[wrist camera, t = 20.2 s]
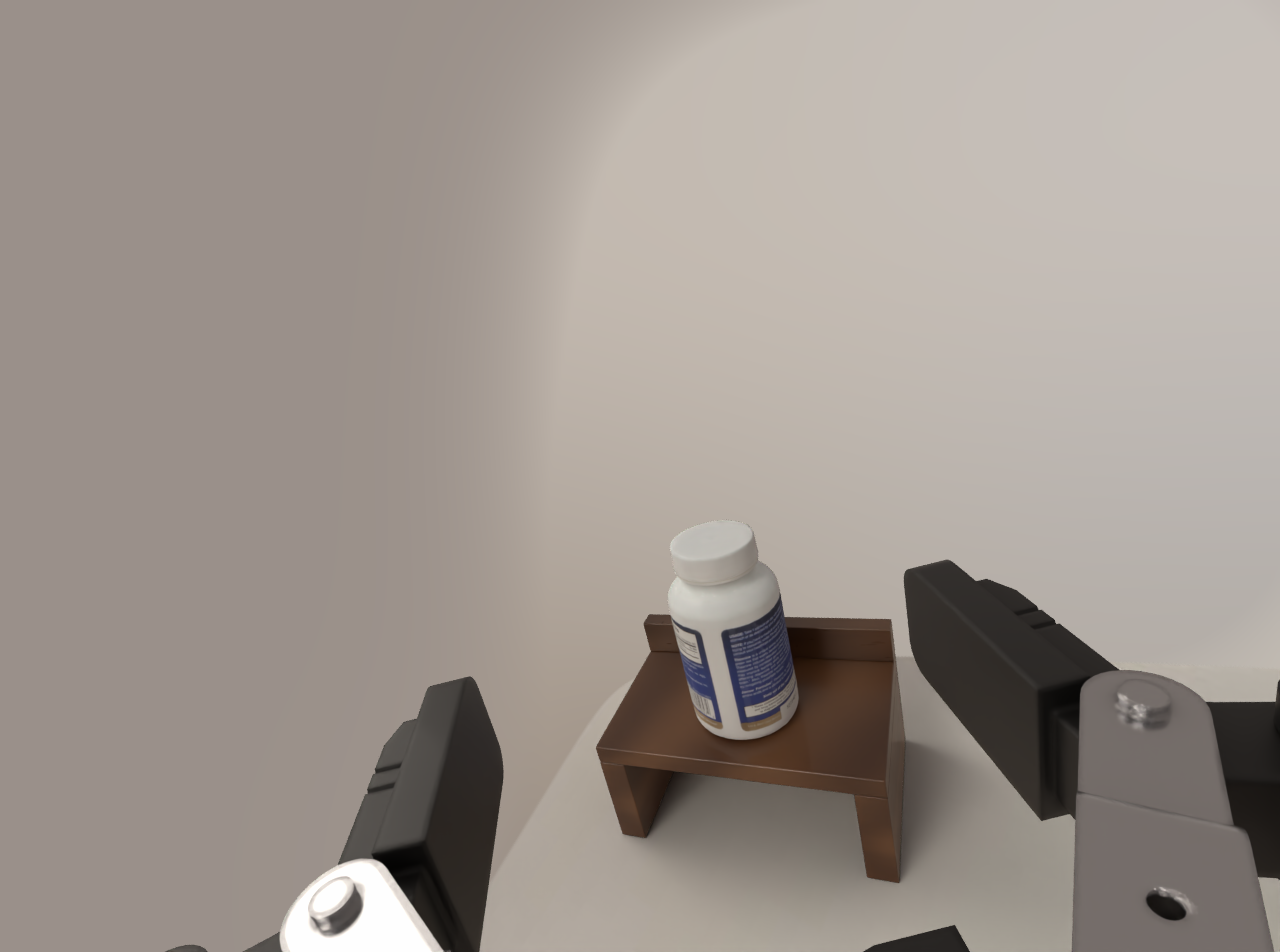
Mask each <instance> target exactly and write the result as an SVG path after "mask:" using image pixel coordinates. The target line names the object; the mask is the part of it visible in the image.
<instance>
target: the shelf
mask: <svg viewBox="0 0 1280 952" xmlns="http://www.w3.org/2000/svg"><path fill="white" fill-rule="evenodd" d="M785 623H786V628H787V634H788V639H789V644H790V650H791V655H792V660H793V666H794V672H795V676H796V681H797V688H798V697H799V699H798V705H797V708H796V711H795V713H794V714H793V716H792V718H791V719H790V720H789V721H788V723H787V724H786V725H784V726H783V727H781V728H780V729H779V730H777V731H776V732H774V733H772V734H769V735H767V736H764V737H760V738H756V739H748V740H735V739H728V738H724V737H720V736H718V735H715V734H713V733H712V732H710V731H709V730H708V729H706V728H705V727H704V726H703V725H702V724H701V722H700V721H699V719H698V718H697V715H696V712H695V709H694V705H693V702H692V699H691V694H690V691H689V686H688V683H687V679H686V675H685V671H684V667H683V663H682V659H681V655H680V651H679V647H678V643H677V639H676V635H675V631H674V627H673V623H672V619H671V615H653V614H650V615H648V617H647V619H646V620H645V622H644V628H645V631H646V635H647V639H648V642H649V647H650V650H651V652H650V654H649V656H648V657H647V659H646V661H645V663H644V664H643V666H642V668H641V670H640V671H639V673H638V675H637V676H636V678H635V680H634V682H633V683H632V685H631V687H630V689H629V690H628V692H627V694H626V696H625V697H624V699H623V701H622V703H621V704H620V706H619V708H618V710H617V711H616V713H615V715H614V717H613V718H612V720H611V722H610V723H609V725H608V727H607V729H606V730H605V732H604V734H603V736H602V737H601V739H600V741H599V743H598V744H597V746H596V750H597V753H598V756H599V759H600V761H601V766H602V770H603V773H604V776H605V779H606V782H607V785H608V789H609V792H610V795H611V798H612V801H613V805H614V808H615V811H616V814H617V817H618V820H619V824H620V827H621V830H622V833H623V834H626V835H631V836H637V837H643V838H646V836H647V834H648V831H649V829H650V826H651V824H652V822H653V819H654V817H655V815H656V812H657V810H658V808H659V805H660V803H661V800H662V798H663V796H664V793H665V791H666V789H667V786H668V784H669V782H670V779H671V777H672V774H673V772H674V771H676V772H684V773H692V774H700V775H708V776H715V777H723V778H731V779H739V780H747V781H755V782H762V783H770V784H778V785H786V786H794V787H802V788H809V789H817V790H825V791H833V792H841V793H848V794H854V797H855V803H856V810H857V816H858V822H859V829H860V835H861V842H862V848H863V854H864V861H865V867H866V873H867V877H868V878H873V879H879V880H885V881H890V882H896V883H899V880H900V856H901V832H902V809H903V785H904V762H905V731H904V723H903V714H902V706H901V697H900V689H899V681H898V672H897V665H896V656H895V648H894V639H893V632H892V622H891V619H849V618H800V617H785Z"/></svg>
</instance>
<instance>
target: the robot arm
mask: <svg viewBox="0 0 1280 952" xmlns="http://www.w3.org/2000/svg"><path fill="white" fill-rule="evenodd" d="M904 588H905V598H906V607H907V617H908V627H909V636H910V644H911V649H912V652H913V655H914V658H915V661H916V663H917V665H918V667H919V669H920V671H921V673H922V674H923V676H924V677H925V678H926V680H927V681H928V682H929V683H930V685H931V686H932V687H933V688H934V689H935V691H936V692H937V693H938V694H939V696H940V697H941V698H942V699H943V701H944V702H945V703H946V704H947V705H948V707H949V708H950V709H951V710H952V712H953V713H954V714H955V715H956V717H957V718H958V719H959V720H960V721H961V723H962V724H963V725H964V726H965V728H966V729H967V730H968V731H969V733H970V734H971V735H972V736H973V737H974V739H975V740H976V741H977V742H978V744H979V745H980V746H981V747H982V748H983V750H984V751H985V752H986V753H987V755H988V756H989V757H990V758H991V760H992V761H993V762H994V763H995V764H996V766H997V767H998V768H999V769H1000V771H1001V772H1002V773H1003V774H1004V776H1005V777H1006V778H1007V779H1008V780H1009V782H1010V783H1011V784H1012V785H1013V787H1014V788H1015V789H1016V790H1017V792H1018V793H1019V794H1020V795H1021V796H1022V798H1023V799H1024V800H1025V801H1026V803H1027V804H1028V805H1029V806H1030V808H1031V809H1032V810H1033V811H1034V812H1035V814H1036V815H1037V816H1038V817H1039V819H1040V820H1041V821H1043V820H1047V819H1051V818H1055V817H1059V816H1063V815H1067V814H1071V816H1072V817H1073V818H1074V819H1075V820H1076V825H1075V860H1074V895H1073V931H1072V952H1274V949H1273V944H1272V940H1271V935H1270V931H1269V926H1268V921H1267V917H1266V912H1265V907H1264V903H1263V898H1262V894H1261V889H1260V884H1259V880H1258V877H1267V878H1278V879H1279V880H1280V680H1279V682H1278V687H1277V696H1276V702H1205V701H1204V700H1203V699H1202V698H1201V697H1200V696H1199V695H1198V694H1196V693H1195V692H1194V691H1193V690H1191V689H1190V688H1188V687H1186V686H1184V685H1183V684H1181V683H1178V682H1176V681H1174V680H1172V679H1169V678H1166V677H1163V676H1160V675H1156V674H1153V673H1148V672H1142V671H1132V670H1119V669H1117V668H1116V667H1115V666H1113V665H1112V664H1111V663H1110V662H1108V661H1107V660H1105V659H1104V658H1103V657H1102V656H1101V655H1099V654H1098V653H1097V652H1095V651H1094V650H1093V649H1091V648H1090V647H1089V646H1088V645H1086V644H1085V643H1084V642H1082V641H1081V640H1080V639H1079V638H1077V637H1076V636H1075V635H1073V634H1072V633H1071V632H1069V631H1068V630H1067V629H1066V628H1064V627H1063V626H1062V625H1060V624H1056V623H1055V620H1054V619H1053V618H1051V617H1050V616H1049V615H1048V614H1046V613H1045V612H1044V611H1042V610H1038V608H1037V606H1036V605H1035V604H1033V603H1032V602H1031V601H1030V600H1028V599H1026V597H1024V596H1023V595H1022V594H1020V593H1019V592H1018V591H1017V590H1014V589H1012V588H1009V587H1007V586H1004V585H1001V584H998V583H996V582H994V581H991V580H988V579H984V580H981V581H975V580H974V579H973V578H971V577H970V576H969V575H968V574H967V573H965V572H964V571H963V570H962V569H961V568H959V567H958V566H957V565H955V563H953V562H952V561H950V560H944V561H939V562H936V563H931V564H927V565H923V566H919V567H916V568H912V569H908V570H906V571H905V574H904ZM375 772H376V773H375V774H373V776H372V778H371V781H370V783H369V786H368V789H367V790H368V794H366V795H365V796H364V799H363V801H362V804H361V807H360V809H359V812H358V814H357V817H356V819H355V822H354V825H353V827H352V830H351V832H350V835H349V837H348V840H347V843H346V845H345V848H344V851H343V853H342V855H341V858H340V861H339V863H338V866H336V867H334V868H332V869H331V870H329V871H327V872H326V873H324V874H323V875H321V876H320V877H319V878H317V879H316V880H315V881H314V882H312V883H311V884H310V885H309V886H308V887H307V888H306V889H305V890H304V891H303V892H302V893H301V894H300V895H299V897H298V898H297V899H296V901H295V902H294V903H293V904H292V906H291V907H290V909H289V911H288V912H287V914H286V916H285V918H284V921H283V923H282V927H281V931H280V932H279V933H277V934H275V935H273V936H272V937H270V938H268V939H266V940H264V941H263V942H260V943H259V944H257V945H255V946H253V947H251V948H249V949H247V950H245V951H243V952H479V950H480V942H481V935H482V928H483V921H484V914H485V907H486V899H487V892H488V885H489V878H490V870H491V864H492V856H493V849H494V842H495V835H496V827H497V821H498V813H499V806H500V799H501V792H502V785H503V761H502V754H501V750H500V746H499V743H498V740H497V737H496V734H495V732H494V729H493V726H492V724H491V721H490V718H489V716H488V713H487V710H486V707H485V705H484V702H483V699H482V696H481V694H480V691H479V688H478V686H477V684H476V682H475V680H474V679H473V678H472V677H465V678H462V679H457V680H453V681H449V682H445V683H441V684H437V685H433V686H430V687H429V688H428V689H427V691H426V694H425V697H424V700H423V703H422V706H421V709H420V712H419V715H418V717H417V719H414V720H410V721H406V722H403V724H402V725H401V726H400V727H399V729H398V730H397V731H396V732H395V733H394V734H393V736H392V737H391V738H390V739H389V741H388V742H387V743H386V744H385V745H384V748H383V750H382V753H381V756H380V758H379V760H378V763H377V766H376V768H375ZM166 952H207V951H206V949H204V948H203V947H201V946H196V945H185V946H180V947H176V948H173V949H171V950H168V951H166ZM864 952H970V951H969V949H968V948H967V946H966V944H965V942H964V941H963V939H962V937H961V935H960V933H959V932H958V930H957V928H956V926H955V925H953V926H949V927H945V928H941V929H937V930H933V931H929V932H925V933H921V934H917V935H913V936H909V937H905V938H901V939H897V940H893V941H890V942H886V943H882V944H878V945H874V946H872V947H870V948H869V949H867V950H865V951H864Z"/></svg>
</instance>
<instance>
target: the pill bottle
mask: <svg viewBox="0 0 1280 952" xmlns="http://www.w3.org/2000/svg"><path fill="white" fill-rule="evenodd" d="M670 552H671V557H672V563H673V569H674V572H675V573H676V576H677V578H676V579H675V580H674V582H673V583H672V585H671V587H670V589H669V593H668V605H669V611H670V615H671V619H672V623H673V627H674V631H675V635H676V639H677V643H678V647H679V651H680V655H681V659H682V663H683V667H684V671H685V675H686V679H687V683H688V686H689V691H690V694H691V699H692V702H693V705H694V709H695V712H696V715H697V718H698V719H699V721H700V722H701V724H702V725H703V726H704V727H705V728H706V729H708V730H709V731H710V732H712V733H713V734H715V735H718V736H720V737H724V738H728V739H735V740H748V739H756V738H760V737H764V736H767V735H769V734H772V733H774V732H776V731H777V730H779V729H780V728H781V727H783V726H784V725H786V724H787V723H788V721H789V720H790V719H791V718H792V716H793V714H794V713H795V711H796V708H797V705H798V699H799V697H798V688H797V681H796V676H795V672H794V666H793V660H792V655H791V650H790V644H789V639H788V634H787V628H786V623H785V617H784V612H783V606H782V601H781V594H780V589H779V585H778V581H777V578H776V576H775V574H774V573H773V571H772V570H771V569H770V568H769V567H768V566H766V565H765V564H764V563H762V562H760V561H758V549H757V546H756V541H755V537H754V533H753V530H752V529H751V527H750V526H749V525H747V524H745V523H742V522H739V521H732V520H717V521H711V522H706V523H703V524H699V525H696V526H693V527H690V528H688V529H686V530H684V531H683V532H681V533H680V534H678V535H677V536H676V537H675V538H674V539H673V540H672V542H671V544H670Z"/></svg>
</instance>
